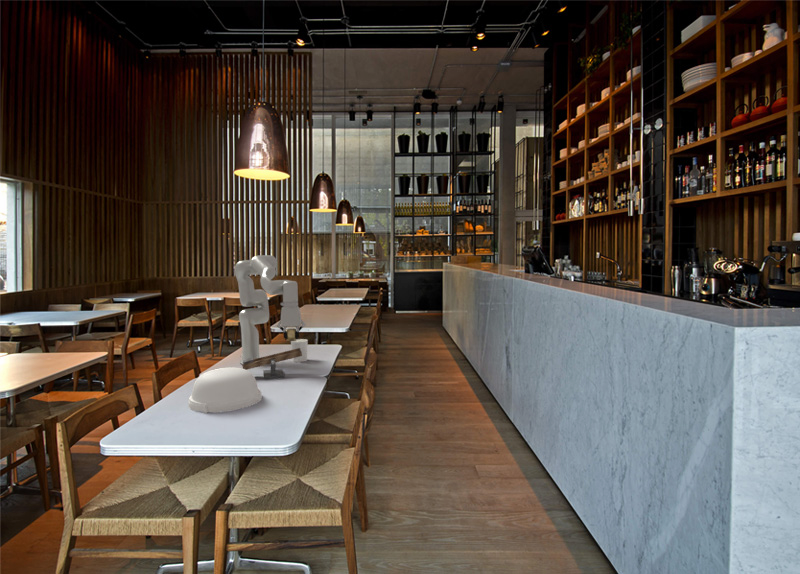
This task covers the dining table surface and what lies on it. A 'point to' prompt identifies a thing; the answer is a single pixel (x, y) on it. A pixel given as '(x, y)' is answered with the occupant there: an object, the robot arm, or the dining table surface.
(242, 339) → the robot arm
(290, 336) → the brass weight
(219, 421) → the dining table surface
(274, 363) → the beam stand
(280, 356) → the balance beam
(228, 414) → the dining table surface
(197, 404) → the dome cover
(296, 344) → the candle holder
